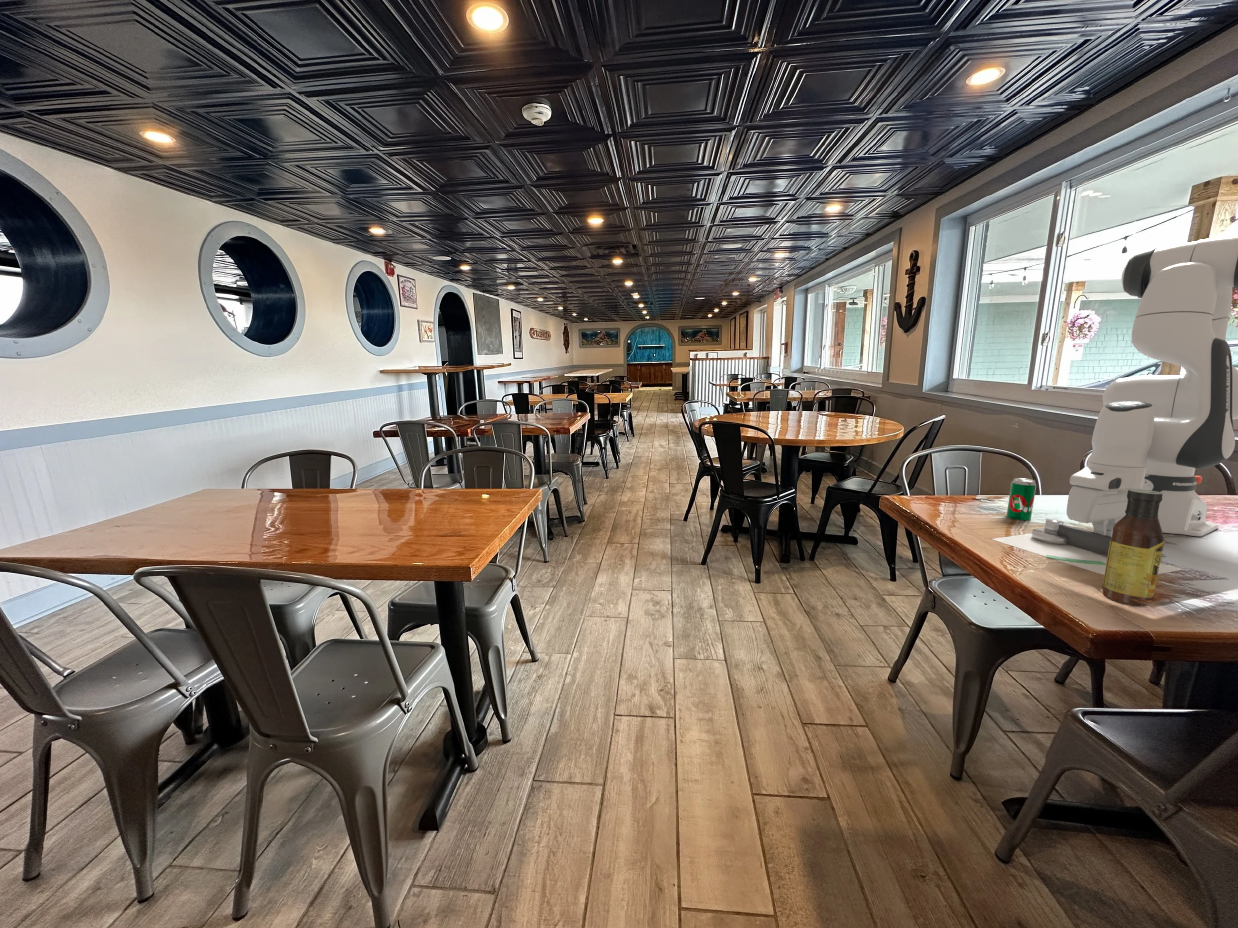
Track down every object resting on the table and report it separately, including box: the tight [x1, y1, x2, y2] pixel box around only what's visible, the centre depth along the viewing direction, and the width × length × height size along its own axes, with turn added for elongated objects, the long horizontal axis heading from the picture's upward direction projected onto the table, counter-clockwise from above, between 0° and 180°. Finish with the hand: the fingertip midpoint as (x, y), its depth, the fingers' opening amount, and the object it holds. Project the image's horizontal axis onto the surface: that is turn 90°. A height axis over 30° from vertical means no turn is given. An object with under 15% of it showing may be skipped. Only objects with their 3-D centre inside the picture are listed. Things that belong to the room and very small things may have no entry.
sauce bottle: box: [1102, 489, 1165, 607], centre depth 82 cm, size 6×6×20 cm
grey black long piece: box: [1031, 518, 1112, 556], centre depth 104 cm, size 16×7×4 cm, turn 16°
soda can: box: [1005, 477, 1037, 522], centre depth 126 cm, size 5×5×12 cm
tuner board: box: [991, 532, 1184, 576], centre depth 102 cm, size 19×24×2 cm
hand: (1102, 537), depth 104 cm, fingers closed
